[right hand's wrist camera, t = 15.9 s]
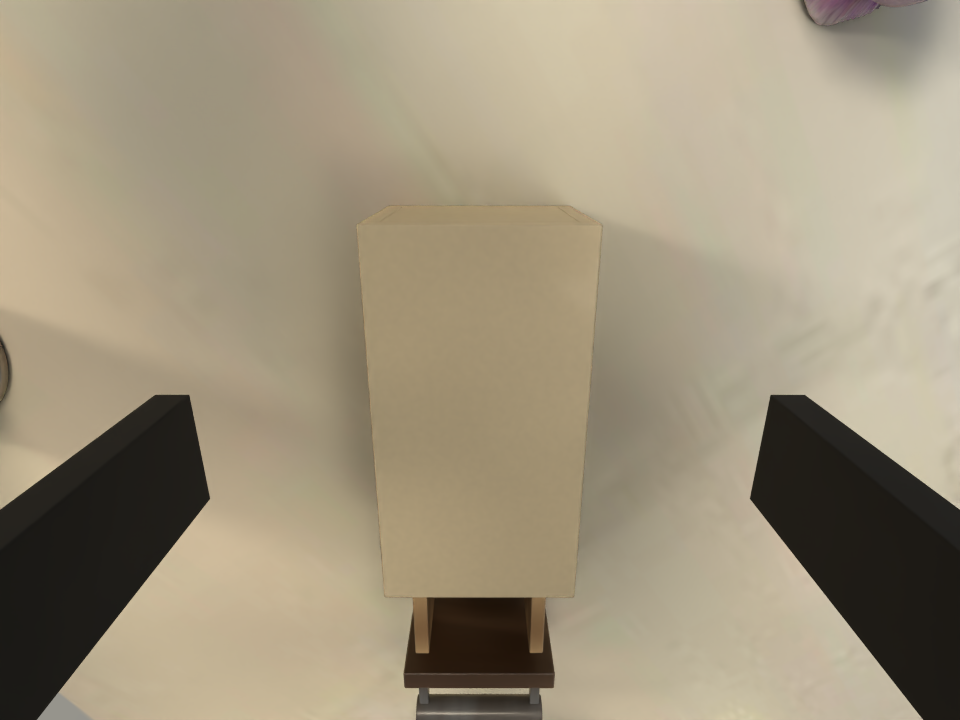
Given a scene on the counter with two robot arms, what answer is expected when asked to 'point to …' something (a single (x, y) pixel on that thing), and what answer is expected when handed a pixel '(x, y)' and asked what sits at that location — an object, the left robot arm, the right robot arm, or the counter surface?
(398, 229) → the cabinet
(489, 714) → the drawer
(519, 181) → the counter surface
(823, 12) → the figurine
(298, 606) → the counter surface
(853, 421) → the counter surface
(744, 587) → the counter surface
